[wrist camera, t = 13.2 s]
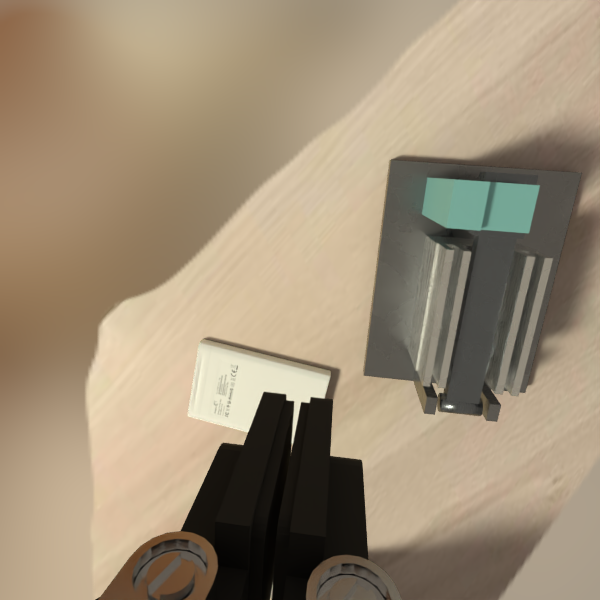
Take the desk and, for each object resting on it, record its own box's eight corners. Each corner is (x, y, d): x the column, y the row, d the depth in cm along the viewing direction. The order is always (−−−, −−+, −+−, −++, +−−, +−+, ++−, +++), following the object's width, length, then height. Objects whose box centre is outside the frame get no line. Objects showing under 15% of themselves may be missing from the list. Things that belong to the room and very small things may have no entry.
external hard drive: (311, 440, 42) (191, 409, 42) (331, 368, 39) (204, 336, 40) (310, 450, 40) (186, 418, 41) (330, 376, 38) (198, 343, 38)
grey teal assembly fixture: (520, 387, 37) (561, 437, 30) (363, 370, 38) (367, 414, 31) (574, 172, 32) (639, 173, 25) (389, 160, 33) (401, 156, 26)
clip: (486, 219, 33) (533, 234, 25) (421, 214, 33) (446, 228, 25) (494, 182, 32) (544, 185, 24) (427, 177, 32) (454, 179, 24)
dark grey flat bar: (476, 409, 33) (482, 420, 32) (435, 405, 33) (438, 415, 32) (529, 174, 27) (539, 175, 26) (479, 171, 28) (486, 171, 26)
